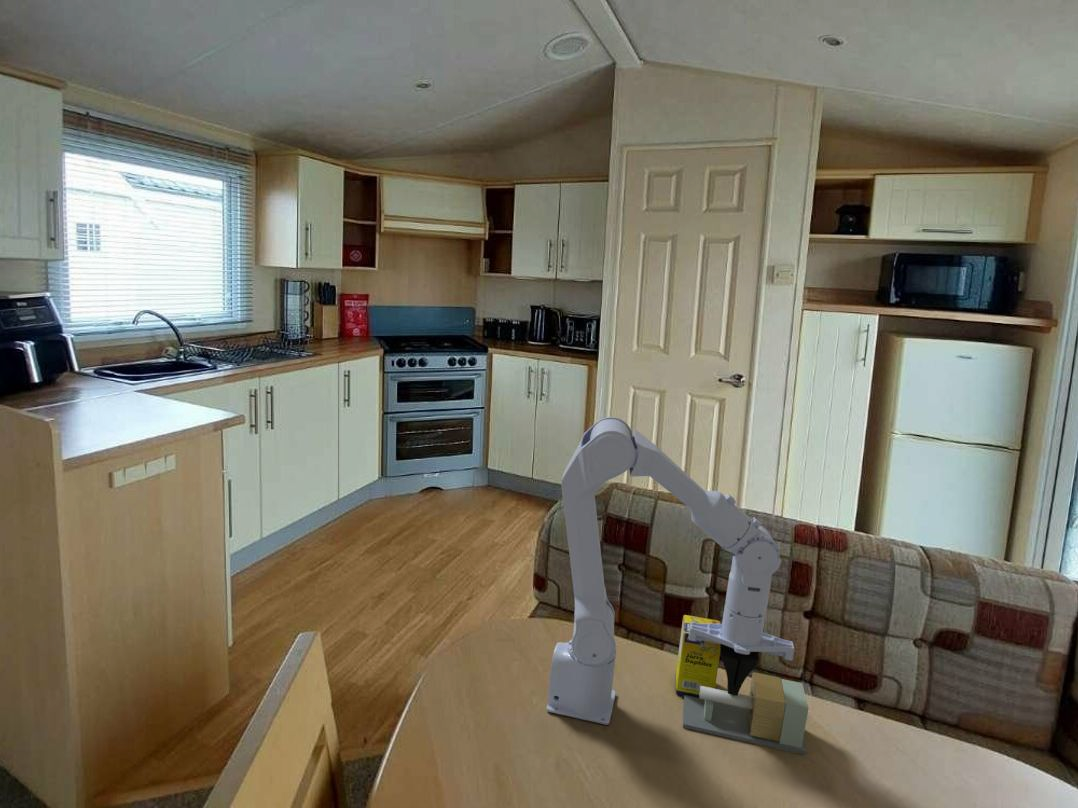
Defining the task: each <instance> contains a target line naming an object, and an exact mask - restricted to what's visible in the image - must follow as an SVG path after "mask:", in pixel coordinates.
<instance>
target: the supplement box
mask: <svg viewBox="0 0 1078 808" xmlns="http://www.w3.org/2000/svg"><path fill="white" fill-rule="evenodd" d="M690 622H694V623H708V624H721V621H720V620H717V619H711V618H706V617H705V618H704V617H699V616H693V615H687V614H684V615H683V617H682V623H681V632H680V638H679V646H678V653H677V662H676V668H675V669H676V670H675V694H676V695H679V696H683V697H684V695H687V696H691V697H696V698H699V695H700V686H705V687H710V688H714V689H716V685H717V677H718V671H719V662H720V657H721V652H720V644H718V643H713V642H708V641H703V640H698V639H697V640H696V641H691V640H689V630H690Z"/></svg>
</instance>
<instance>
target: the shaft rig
mask: <svg viewBox="0 0 1078 808" xmlns="http://www.w3.org/2000/svg"><path fill="white" fill-rule="evenodd" d="M781 683H782V688H783V693H784V698H785V703H786V704H785V710H784V716H783V722H782V728H781V734H780V740H779V741H774V740H770V739H765V738H761V737H756V736H752V735H750V730H749V721H748V712H747V709H751V710H752V707H753V696H749V694H748V695H746V694H743V693H738V696H735V695H731V694H728V690H724V689H723V690H722V689H719V688H715V689H714V688H710V687H705V686H700V695H699V698H696V697H691V696H687V695H684V696H683V711H682V712H683V715H682V719H683V720H682V728H683V729H687V730H693V731H696V732H701V733H706V734H709V735H715V736H720V737H723V738H729V739H732V740H737V741H742V742H744V743H745V742H746V743H749V742H750V744H754V743H755V744H754V745H758V744H759V746H762V747H768V748H771V749H777V750H781V751H786V752H791V753H795V754H800V755H803V756H805V755H806V752H807V751H806V747H805V742H804V736H805V730H806V726H807V725H806V724H807V720H808V713H809V705H808V701H807V697H806V694H805V689H804V685H803V682H799V681H793V680H789V679H784V678H781Z"/></svg>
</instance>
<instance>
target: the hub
mask: <svg viewBox="0 0 1078 808" xmlns="http://www.w3.org/2000/svg"><path fill="white" fill-rule="evenodd" d="M781 679H782V678H781V677H779V676H778V677H777V676H774V675H768V674H763V673H758V672H755V671H754V672H753V671H752V674H751V683H750V688H749V694H748V696H753V707H752V710H751V709H747V712H748V721H749V730H750V735H752V736H756V737H761V738H765V739H770V740H774V741H779V740H780V734H781V728H782V722H783V716H784V710H785V704H786V703H785V698H784V693H783V688H782V683H781Z"/></svg>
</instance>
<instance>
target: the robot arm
mask: <svg viewBox="0 0 1078 808" xmlns="http://www.w3.org/2000/svg"><path fill="white" fill-rule="evenodd" d="M633 434H634V436H633ZM627 471H629V476H630V477H633V478H635V477H650V478H652V479H653V480H654V481H655V482H657V484H659V485H660V486H662V487H663V488H664V489H665V490H666V491H668V492H669V493H671V495H673V496H674V497H676V498H677V499H678V500H679V501H680V502H682V503H683V504H684V505H686V507H688V508H689V509H690V516H691V517H690V518H691V521H692V523H693V524H695V525H696V526H697V527H698V528H699V529H700V530H701V531H703V532H704V534H706V535H707V536H708V537H710V538H711V539H712V540H713V541H714V542H715V543H716V544H718V546H719V547H721V548H722V549H723V550H725V551H727V552H729V553H732V554H733V556H732V560H731V561H732V562H731V566H730V572H729V575H728V582H727V589H726V595H725V602H724V608H723V615H722V620H721V623H720V624H708V623H694V622H690V630H689V640H691V641H696V640H697V639H698V640H703V641H708V642H713V643H718V644H720V657H721V661H722V663H723V666H724V669H725V673H726V677H727V685H726V686H727V691H728V694H731V695H735V696H738V694H740V693H739V692H740V690H741V688H742V685H743V684H744V682H745V680H746V679H747V677H748V676H749V675H750V674H751V673H752V672H753V670H754V669H755V668H757V666H758V665H759V661H760V658H759V657H760V656H759V655H760V654H759V653H763V654H769V655H774V656H778V657H779V656H780V657H783V658H784V659H785V660H787V661H793V660H794V655H795V653H794V652H795V645H794V642H793V641H791V640H787V639H783V638H780V637H777V636H775V635H771V634H768V633H765V632H764V627H765V621H766V615H767V611H768V610H767V608H768V603H769V598H770V590H771V586H772V583H771V582H772V577H773V576H772V575H773V574H774V573H776V572H777V571H778V569H779V568H780V566H781V565H782V561H783V560H782V558H781V553H780V550H779V547H778V545H777V543H776V542H775V540H774V538H773V537H772V535H771V534H770V532H769V531H768V529H766V528H765V527H764V525H763V523H762V522H760V521H759V520H758V519H757V518H756V517H752V518H751V517H750V516H748V515H747V514H746V513H745V512H743V510H742V509H740V508H739V507H738V506H737V505H736V503H737V502H736V500H735V498H734V497H733V496H732V495H731V494H730V493H726V494H725V495H724V494H723V493H722V492H721V491H719V490H705V489H703V487H702V486H700V485H699V484H698V483H697V482H696V481H695V480H694V479H693V478H692V477H691V476H690V475H688V474H687V473H686V472H685V471H684V470H683V469H682V468H681V467H680V466H678V464H677V463H676V462H674V461H673V460H672V459H671V458H670V457H669V456H668V455H667V454H665V452H664V451H662V449H660V448H659V446H657V445H656V444H655V443H653V442H652V441H651V440H650V439H649V438H648V437H646V436H645V435H643V433H642V432H640V431H638V430H637V429H635V428H633V432H632V429H631V427H630V425H628V423H627V422H626V421H624V420H623V419H621V418H619V417H615V416H607V417H603V418H601V419H599V420H598V421H596V422H595V423H594V424H593V425H591V426H590V427H589V428H588V429H587V430H586V431H585V432H583V435H582V437H581V439H580V442H578V446H577V447H576V448H575V450H574V453H573V454H572V456H571V458H570V460H569V462H568V464H567V466H566V467H565V470H564V471H563V474H562V478H561V485H560V486H561V487H560V488H561V496H562V504H563V511H564V512H563V513H564V520H565V527H566V528H565V529H566V537H567V545H568V552H569V562H570V570H571V578H572V585H573V586H572V587H573V596H574V612H573V613H574V614H573V615H574V616H573V618H574V623H573V631H572V632H573V633H572V638H571V639H569V641H568V642H560V641H559V642H557V643H556V645H555V647H554V650H553V654H552V657H551V658H552V659H551V665H550V672H549V673H550V674H549V675H550V676H549V682H548V683H549V685H548V694H547V695H548V697H547V706H546V711H547V712H549V713H554V714H558V715H562V716H567V717H571V718H575V719H578V720H579V719H580V720H584V721H588V722H593V723H598V724H602V725H605V726H606V725H607V726H608V725H610V722H611V718H612V714H613V709H614V702H615V699H616V690H614V689H613V684H614V673H615V665H616V655H617V649H616V647H617V645H616V638H615V619H616V618H615V617H616V613H615V610H614V607H613V605H612V604H611V602H610V601H609V599H608V596H607V589H606V586H605V585H606V584H605V579H604V577H605V576H604V568H603V560H602V551H601V542H600V533H599V524H598V522H599V521H598V515H597V504H596V496H595V493H596V492H597V491H598V489H600V488H601V487H602V486H603V485H604V484H605V483H606V482H608V481H609V480H612V479H615V478H618V477H619V476H620V475H623V474H624V473H626V472H627Z"/></svg>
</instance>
